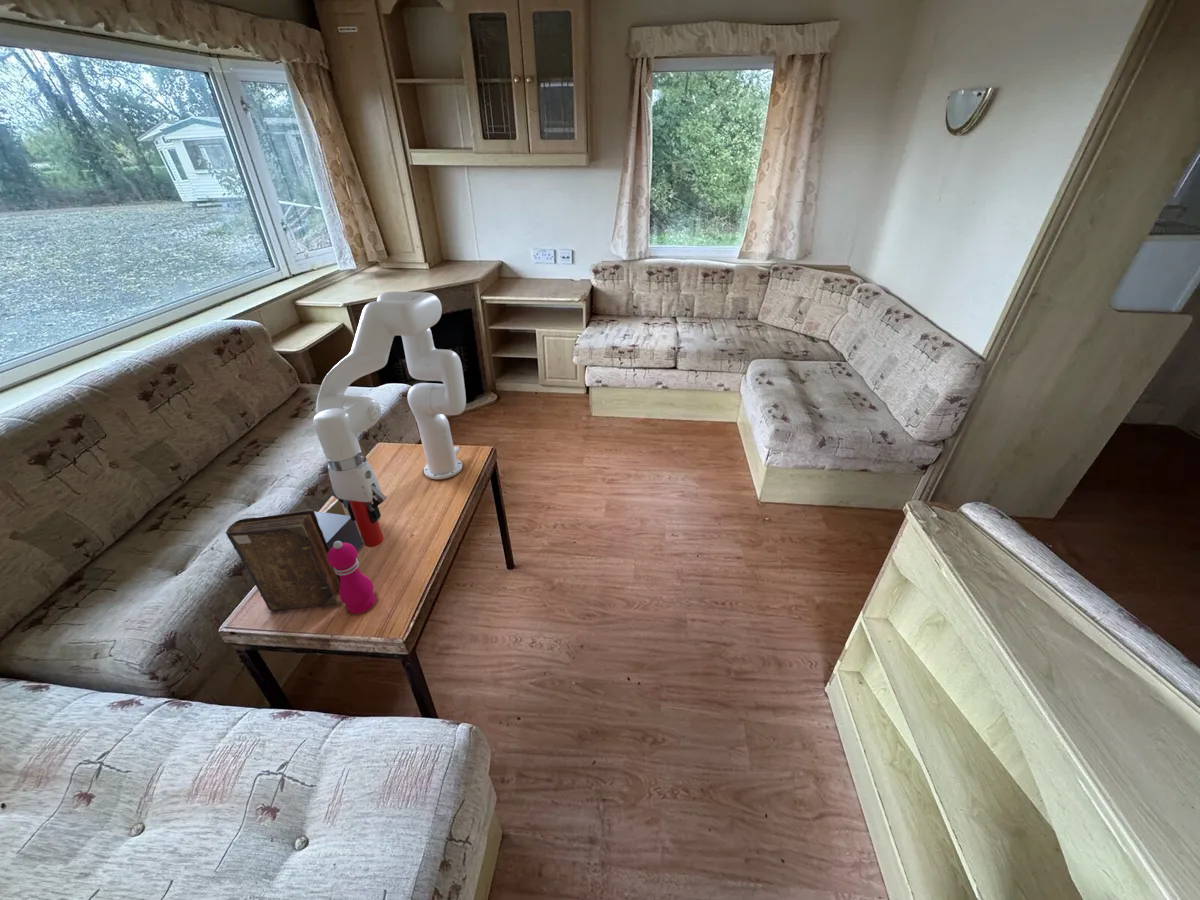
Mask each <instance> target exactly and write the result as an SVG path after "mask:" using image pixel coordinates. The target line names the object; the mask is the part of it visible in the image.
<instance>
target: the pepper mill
mask: <svg viewBox="0 0 1200 900" xmlns="http://www.w3.org/2000/svg"><path fill="white" fill-rule="evenodd" d="M327 561H328V563H329V565H330V566H332V567H333V568H334V570H335V573H336V574H338V575H339V576H340V582H341V583H340V589H338V594H339V595H338V596H339V598H340V601H341V602H342V603H343V604H344V605H345V606H346V609H347V611H348V612H349V613H351V614H353V615H354V614H355V615H358V614H359V615H360V614H363V613H366V612H367V611H369V610H370V609H372V608H373V606H374V605H375V603H376V600H377V599H376V595H375V593H374V584H373V582H372V580H371V578H369V577H368V576H366V575H365V574H363V573H362V572H361V570H360V568H359V565H360V562H359V559H358V551H357V550H356V548H355V547H354V546H353V545H352V544H350V543H342V542H341V541H336V542H334V544H333V547H332V548H331V549H330V550H329V552H328V554H327Z"/></svg>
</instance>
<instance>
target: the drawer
mask: <svg viewBox="0 0 1200 900" xmlns="http://www.w3.org/2000/svg"><path fill="white" fill-rule="evenodd" d="M372 504H373V502H372ZM323 512H324V513H332V514H340V515H348V516H350V514H349V512H348V508H345V507H344V504H343V503H341V502H340V501H339V500H338V499H337V498H336V499H335V500H334V501H333V502H332V503H331V504H330V505H329V506H328V507H327V508H325V509H324V511H323ZM380 520H381V517H380V518H379V519H378V522H379V521H380ZM355 524H356V526H357V529H358V532H359V534H360V537H361V538H362V536H361V533H360V530H359V527H358V525H357V522H356V520H355Z"/></svg>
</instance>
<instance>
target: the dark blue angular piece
mask: <svg viewBox="0 0 1200 900" xmlns="http://www.w3.org/2000/svg"><path fill="white" fill-rule="evenodd" d="M314 512H315V515H316V517H317V520H318V523H319V527H320V528H321V530H322V532H323V536H324V538H325V540H326V543H327V545H328V547H329V549H331V548H332V547H333V544H334V542H336V541H341V542H342V543H350V544H352V545H353V546H354V547H355V548H356V550H357V552H358V551H359V550H360V548H361V547H363V545H364V541H363V539H362V536H361V537H360V534H359V532H358V529H357V526H356V524H355V521H352V520H351V517H350V516H348V515H340V514H332V513H324V511H315V510H314Z"/></svg>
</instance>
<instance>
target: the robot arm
mask: <svg viewBox="0 0 1200 900" xmlns="http://www.w3.org/2000/svg"><path fill="white" fill-rule="evenodd" d="M442 312H443V307H442V302H441V301H440V299H439V298H438V296H437V295H435V294H434V293H432V292H427V291H426V292H423V291H421V292H420V291H397V290H396V291H385V292H382V293H380V294H379V295H378V297H377V299H376V300H374V301H370V302H368V303H366V304H365V305H364V307H363V309H362V311H361V314H360V317H359V321H358V325H357V328H356V332H355V335H354V338H353V342H352V345H351V349H350V351H349V353H348V354H347V355H345V357H343V358H342V359H341V360H339V362H337V363H336V364H335V365H334V366H333V367H332V368H331V369H330V370H329V371H328V373H326V375H325V376H324V378H323V380H322V382H321V384H320V387H319V391H318V394H317V399H316V403H315V413H316V415H314V417H313V420H312V424H313V427H314V430H315V433H316V435H317V438H318V440H319V443H320V445H321V448H322V451H323V454H324V456H325V459H326V462H327V465H328V467H327V469H328V476H329V480H330V484H331V487H332V490H331V493H330V495H331V496H332V497H334V498H336V500H337V499H338V500H339V501H340V502H341V503H343V504H344V507H345V508H348V512H349V514H350V517H351V520H352V521H355V520H356V519H355V517H354V514H353V511H352V508H351V506H350V503H349V500H350V501H359V502H364V503H365V504H366V506H367V507H368V509H369V511H368V514H369V517H370V520H371V523H375V522H376V521H377V520H378V519H379V518H380V519H381V516H382V515H381V512H380V508H379V506H380V505H381V504H382V503H384V502H385V501H386V500H387V496H386V495H385V494H384V493H383V492H382V489H381V485H380V482H379V480H378V477H377V475H376V473H375V471H374V469H373V467H372V466H371V464H370V462H369V461H368V460H367V457H366V456H364V454H363V452H362V448H361V446H360V442H359V439H358V435H357V434H359V433H361V432H364V431H365V430H367V429H369V428H372V427H373V426H374V425H376V424H377V422H378V421H379V420H380V418H381V414H382V408H381V404H380V403H379V402H378V401H377V400H376V399H374V398H372V397H368V396H361V395H359V396H358V395H348V394H347V395H345V392H346V390H347V389H348V388H349V387H350V386H351V384H352V383H354V382H356V381H357V380H359V379H360V378H363V377H364V376H367V375H370V374H372V373H374V372H377V371H380V370H381V369H383V368H385V366H386V365H387V364H388V360H389V357H390V352H391V348H392V345H393V341H394V338H395V337H396V336H400V337H401V340H402V345H403V351H404V356H405V362H406V366H407V371H408V374H409V376H410V377H411V378H413V379H414V380H417V381H418V380H419V381H428V382H418V383H415V384H413V385H412V386H411V387H410V388H409V389H408V391H407V398H406V399H407V403H408V406H409V408H410V410H411V412H412V415H413V416H414V419H415V422H416V425H417V430H418V432H419V437H420V441H421V444H422V450H423V452H424V453H423V454H424V457H425V461H426V464H425V466H424V467H423V474H424V476H425V477H426V478H428V479H432V480H445V479H449V478H452V477H454V476H456V475H458V474H459V473H460V472H461V471H462V469H463V461H462V460H461V459H459V458H457V455H458V453H459V451H460V450H461V448H460V447H459V446H457V445H455V446H454V442H453V437H452V433H451V427H450V422H449V420H448V418H447V416H459V415H461V414H463V412H464V411H465V409H466V406H467V396H466V395H467V394H466V387H465V377H464V370H463V365H462V361H461V358H460V356H459V355H458V353H457V352H455V351H453V350H451V349H443V348H436V347H435V343H434V339H433V334H432V330H431V328H432V327H434V326H435V325H436V324H438V322H439V321H440V319H441V317H442ZM434 382H436V383H434ZM437 382H442V383H437ZM371 501H372V502H373V504H371Z"/></svg>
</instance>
